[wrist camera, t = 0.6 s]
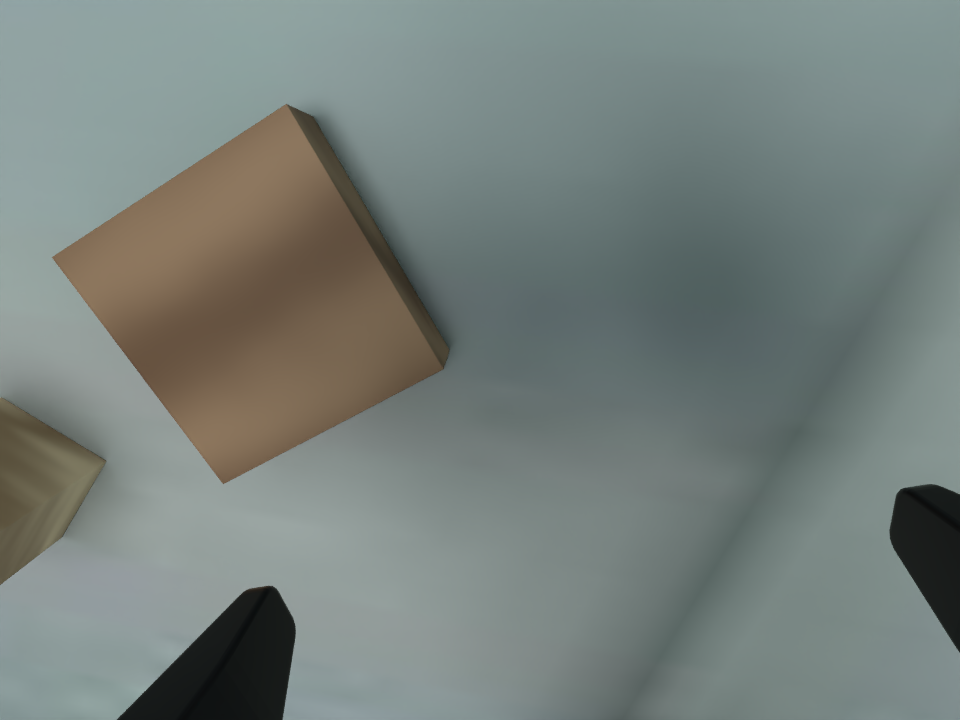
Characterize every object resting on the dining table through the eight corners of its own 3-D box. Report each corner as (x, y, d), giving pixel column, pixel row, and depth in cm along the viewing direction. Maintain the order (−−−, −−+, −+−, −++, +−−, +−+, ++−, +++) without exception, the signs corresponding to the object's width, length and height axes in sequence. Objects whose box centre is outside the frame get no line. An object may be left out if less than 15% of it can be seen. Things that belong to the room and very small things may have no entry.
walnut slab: (450, 347, 22) (443, 369, 19) (256, 449, 24) (223, 484, 21) (317, 118, 20) (286, 104, 17) (112, 249, 21) (52, 257, 18)
